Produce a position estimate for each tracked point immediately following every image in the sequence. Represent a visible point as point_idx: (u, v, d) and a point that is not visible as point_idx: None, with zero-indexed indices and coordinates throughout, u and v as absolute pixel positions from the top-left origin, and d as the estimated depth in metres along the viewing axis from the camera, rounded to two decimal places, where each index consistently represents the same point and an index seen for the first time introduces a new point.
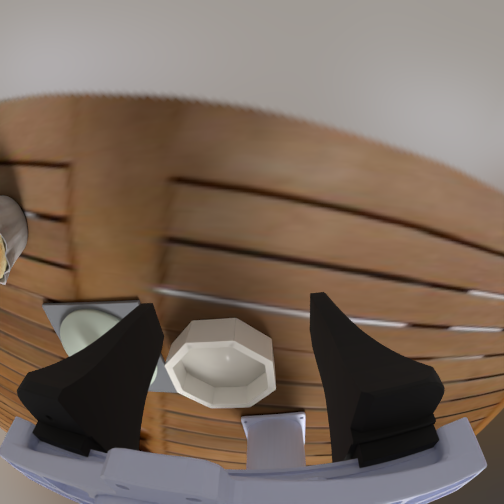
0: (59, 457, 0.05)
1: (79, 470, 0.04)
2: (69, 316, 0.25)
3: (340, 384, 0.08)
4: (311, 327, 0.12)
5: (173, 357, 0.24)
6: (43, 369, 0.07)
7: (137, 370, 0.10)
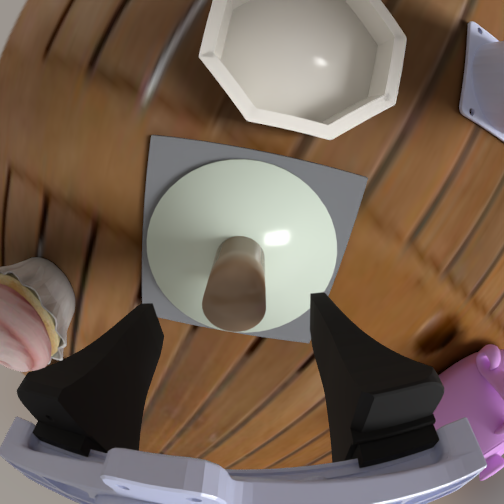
0: (59, 457, 0.05)
1: (79, 470, 0.04)
2: (153, 271, 0.19)
3: (340, 384, 0.08)
4: (311, 327, 0.12)
5: (228, 92, 0.12)
6: (43, 369, 0.07)
7: (137, 370, 0.10)
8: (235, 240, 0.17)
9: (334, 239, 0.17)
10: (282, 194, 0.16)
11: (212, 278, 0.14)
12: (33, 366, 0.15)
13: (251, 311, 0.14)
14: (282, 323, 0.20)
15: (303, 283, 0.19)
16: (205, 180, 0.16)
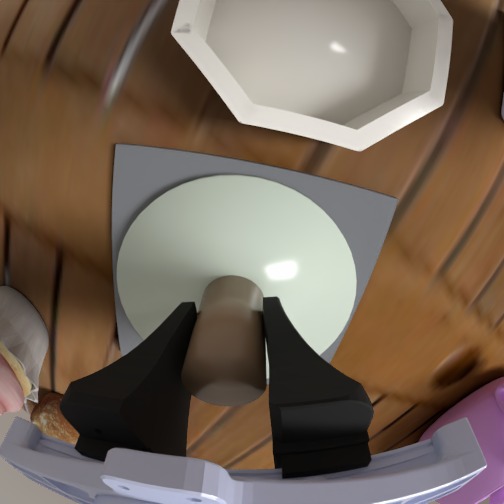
0: (59, 457, 0.05)
1: (79, 470, 0.04)
2: (128, 314, 0.15)
3: None
4: None
5: (212, 81, 0.08)
6: (88, 377, 0.07)
7: None
8: (226, 282, 0.13)
9: (353, 277, 0.13)
10: (288, 221, 0.12)
11: (194, 344, 0.10)
12: (6, 410, 0.11)
13: (247, 387, 0.10)
14: None
15: (312, 329, 0.15)
16: (185, 204, 0.12)
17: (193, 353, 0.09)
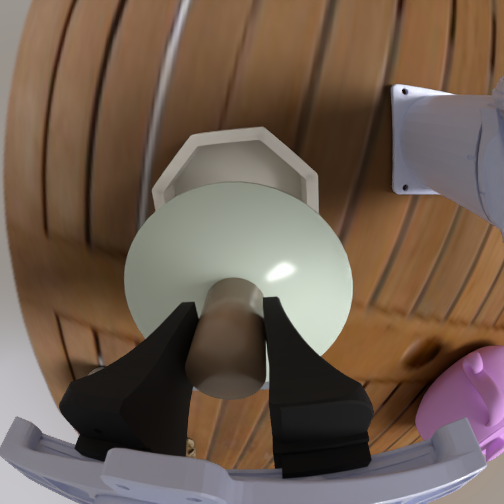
0: (59, 457, 0.05)
1: (79, 470, 0.04)
2: (133, 315, 0.15)
3: None
4: None
5: None
6: (88, 377, 0.07)
7: (183, 372, 0.10)
8: (229, 283, 0.14)
9: (349, 280, 0.14)
10: (286, 226, 0.13)
11: (197, 337, 0.10)
12: None
13: (248, 378, 0.10)
14: None
15: (311, 331, 0.15)
16: (191, 209, 0.13)
17: (197, 344, 0.10)
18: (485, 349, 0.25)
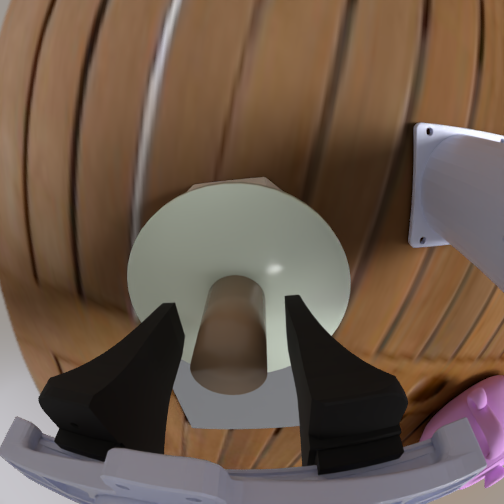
0: (59, 457, 0.05)
1: (79, 470, 0.04)
2: (137, 311, 0.16)
3: (303, 389, 0.08)
4: (286, 329, 0.12)
5: None
6: (66, 374, 0.07)
7: (162, 371, 0.10)
8: (230, 281, 0.14)
9: (347, 277, 0.14)
10: (287, 226, 0.13)
11: (201, 337, 0.11)
12: None
13: (250, 376, 0.11)
14: (285, 366, 0.17)
15: None
16: (192, 209, 0.13)
17: (201, 345, 0.10)
18: (490, 381, 0.23)
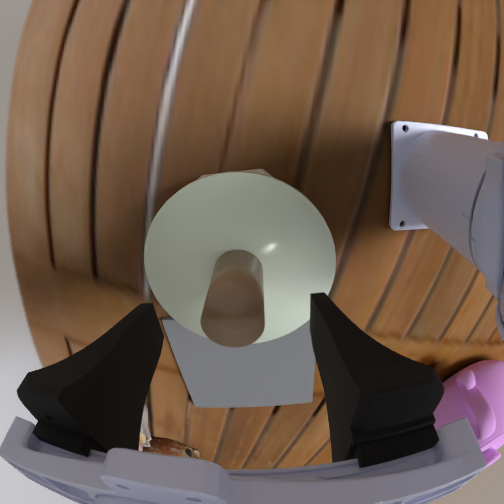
0: (59, 457, 0.05)
1: (79, 470, 0.04)
2: (151, 284, 0.18)
3: (340, 384, 0.08)
4: (311, 327, 0.12)
5: None
6: (43, 369, 0.07)
7: (137, 370, 0.10)
8: (233, 254, 0.17)
9: (333, 252, 0.17)
10: (280, 207, 0.16)
11: (210, 295, 0.14)
12: None
13: (250, 327, 0.13)
14: (281, 335, 0.20)
15: (302, 295, 0.19)
16: (202, 193, 0.16)
17: (210, 300, 0.13)
18: (479, 365, 0.25)
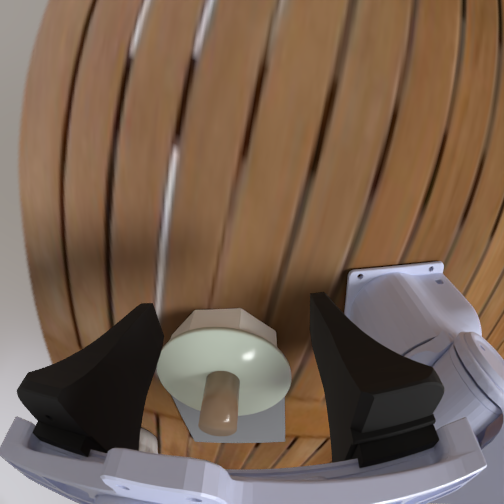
0: (59, 457, 0.05)
1: (79, 470, 0.04)
2: (162, 383, 0.25)
3: (340, 384, 0.08)
4: (311, 327, 0.12)
5: None
6: (43, 369, 0.07)
7: (137, 370, 0.10)
8: (218, 376, 0.23)
9: (289, 372, 0.23)
10: (250, 350, 0.22)
11: (203, 411, 0.20)
12: None
13: (228, 429, 0.20)
14: (254, 412, 0.26)
15: (268, 394, 0.25)
16: (195, 341, 0.22)
17: (204, 416, 0.19)
18: None
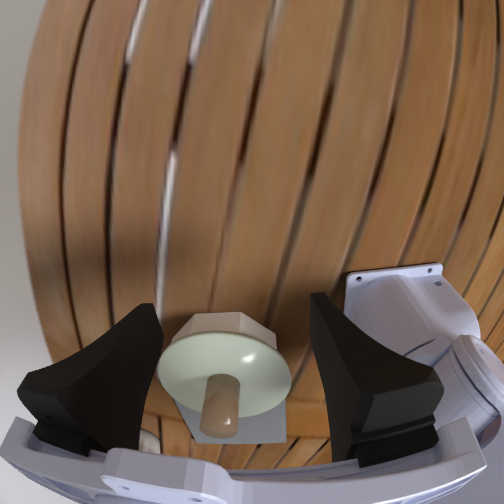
0: (59, 457, 0.05)
1: (79, 470, 0.04)
2: (164, 386, 0.25)
3: (340, 384, 0.08)
4: (311, 327, 0.12)
5: None
6: (43, 369, 0.07)
7: (137, 370, 0.10)
8: (219, 378, 0.23)
9: (289, 375, 0.23)
10: (250, 354, 0.22)
11: (204, 414, 0.20)
12: None
13: (229, 431, 0.20)
14: (255, 414, 0.26)
15: (268, 396, 0.25)
16: (196, 345, 0.22)
17: (204, 419, 0.19)
18: None
